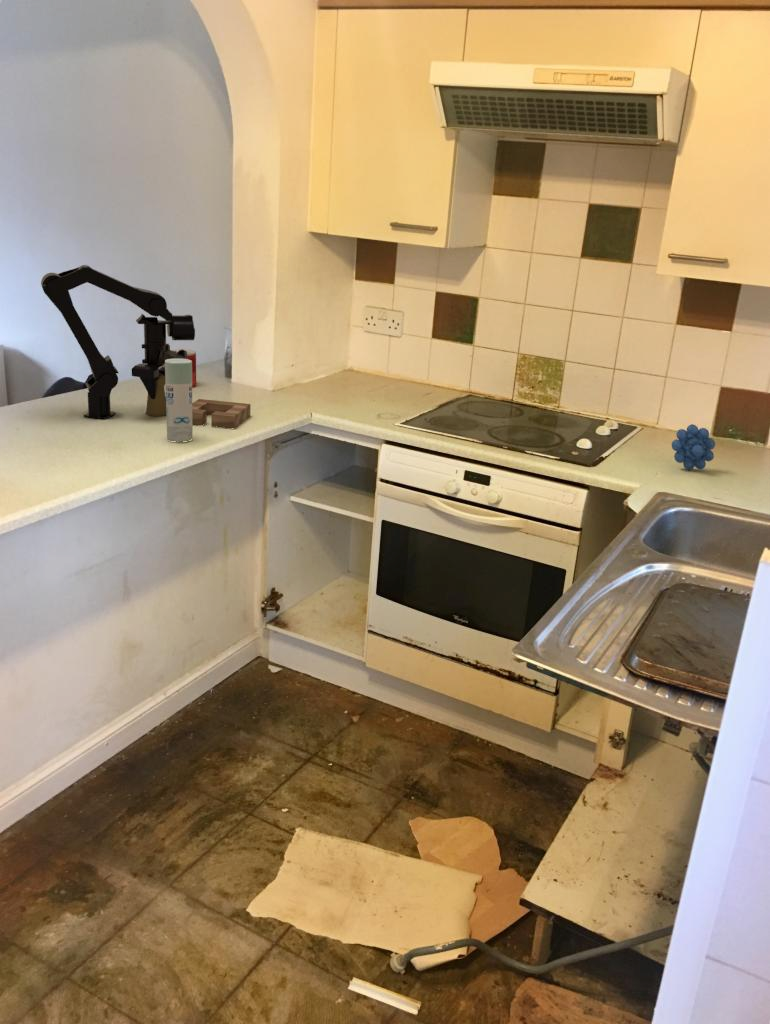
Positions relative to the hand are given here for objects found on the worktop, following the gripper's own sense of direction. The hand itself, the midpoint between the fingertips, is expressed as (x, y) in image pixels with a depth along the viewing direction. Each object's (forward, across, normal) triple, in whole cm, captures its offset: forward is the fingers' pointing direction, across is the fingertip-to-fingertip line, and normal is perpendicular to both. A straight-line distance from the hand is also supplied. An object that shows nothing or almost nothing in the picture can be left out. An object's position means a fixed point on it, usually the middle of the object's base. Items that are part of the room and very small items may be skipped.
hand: (156, 397), depth 240 cm
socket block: (+5, 0, -17) cm, 18 cm away
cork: (+5, 0, 0) cm, 5 cm away
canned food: (+5, +36, +6) cm, 37 cm away
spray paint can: (+5, -22, -15) cm, 27 cm away
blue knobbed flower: (+5, -2, -144) cm, 144 cm away
